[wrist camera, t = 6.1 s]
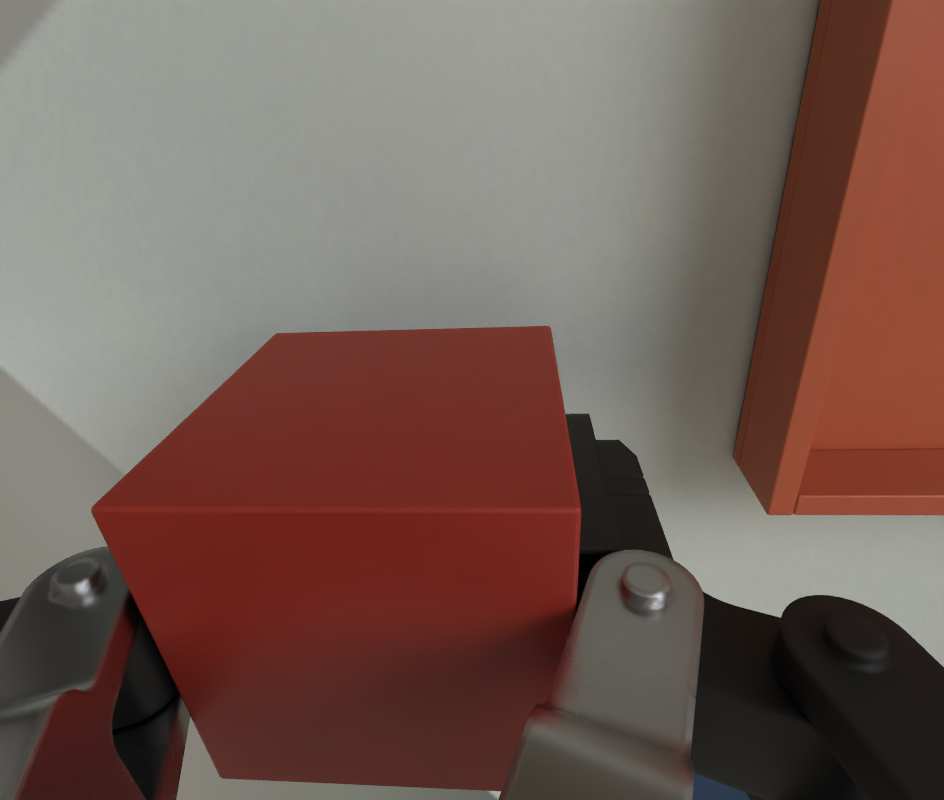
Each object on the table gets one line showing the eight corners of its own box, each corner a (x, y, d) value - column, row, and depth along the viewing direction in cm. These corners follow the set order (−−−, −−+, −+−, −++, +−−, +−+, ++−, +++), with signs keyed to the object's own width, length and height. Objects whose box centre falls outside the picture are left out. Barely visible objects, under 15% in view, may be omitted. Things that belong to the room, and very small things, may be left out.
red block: (324, 540, 12) (219, 779, 8) (275, 332, 10) (85, 508, 6) (547, 541, 12) (567, 795, 7) (551, 324, 10) (582, 510, 5)
